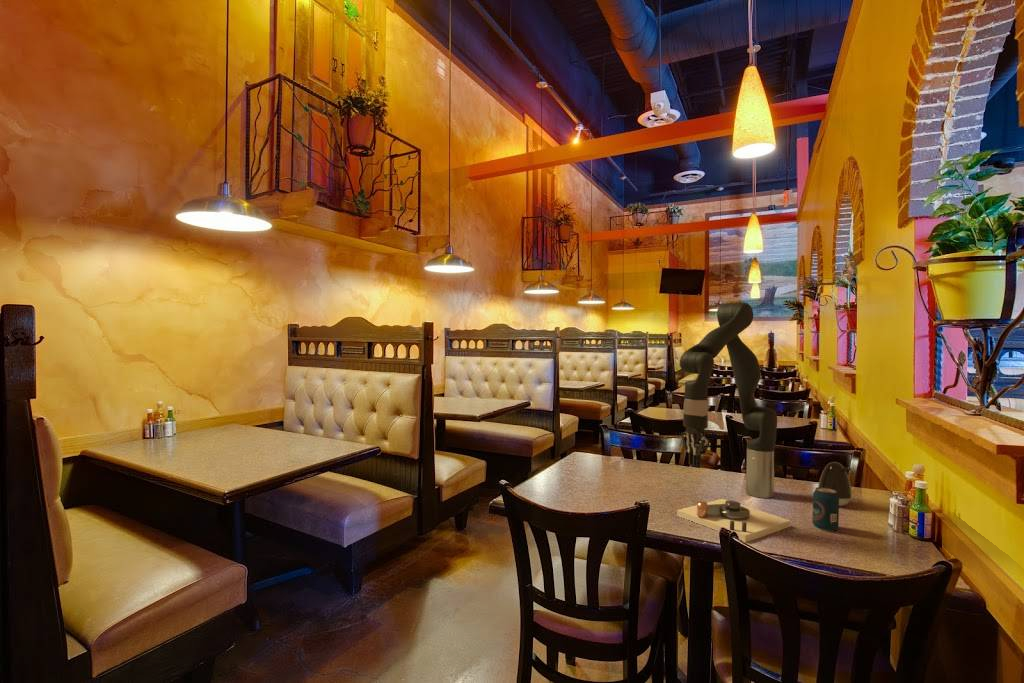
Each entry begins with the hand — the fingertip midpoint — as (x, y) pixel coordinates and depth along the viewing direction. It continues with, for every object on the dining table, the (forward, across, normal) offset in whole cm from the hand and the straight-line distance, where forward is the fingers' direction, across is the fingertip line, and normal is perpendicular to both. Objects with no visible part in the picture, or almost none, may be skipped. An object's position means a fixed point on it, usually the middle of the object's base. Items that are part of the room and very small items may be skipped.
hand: (694, 465), depth 161 cm
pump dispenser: (+17, -4, +59) cm, 62 cm away
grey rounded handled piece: (+15, +6, +7) cm, 17 cm away
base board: (+17, +6, +10) cm, 21 cm away
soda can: (+17, +15, +36) cm, 43 cm away
